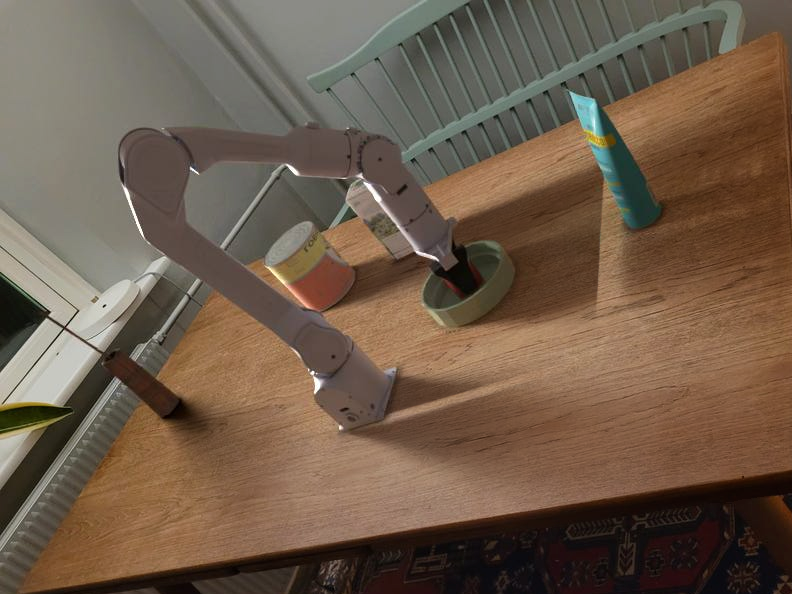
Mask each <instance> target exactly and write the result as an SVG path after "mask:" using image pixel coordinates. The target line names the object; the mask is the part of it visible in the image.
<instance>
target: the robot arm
mask: <svg viewBox="0 0 792 594" xmlns="http://www.w3.org/2000/svg"><path fill="white" fill-rule="evenodd" d="M304 124H305V125H296V126H294V127H293V128H292V129H291V130H290V131H289V132H288V133H287V134H285V135H274V134H267V133H257V132H250V131H241V130H233V129H224V128H216V127H208V126H166V127H161V129H162V130H164V131H166V132H167V133H168V134H169V135H167V134H165V133H164V132H163V131H160V130H158V129H156V128H154V127H143V126H140V127H136V128H134V129H131V130H129V131H128V132H126V133H125V134H124V135H123V136H122V138H121V139H120V141H119V143H118V147H117V175H118V180H119V181H120V184H121V186H122V189H123V191H124V193H125V196H126V199H127V201H128V204H129V206H130V208H131V211H132V215H133V216H134V219H135V221H136V225H137V227H138V229H139V233H140V234H141V235H142V237H143V240H144V241H146V242H147V243H148V244H149V245H150V246H151V247H152V248H153V249H155V250H156V251H158V252H159V253H161V254H163V255H164V256H165V257H166V258H168V259H170V260H171V261H172V262H174V263H175V264H176V265H178V266H179V267H181V268H182V269H183V270H185V271H187V272H188V273H189V274H191V275H192V276H193V277H195V278H196V279H198V280H199V281H201V282H202V283H204V284H205V285H206V286H207V287H209V288H210V289H212V290H213V291H215V292H216V293H218V294H219V295H220V296H222V297H223V298H224V299H226V300H227V301H229V302H230V303H232V305H234V306H236V307H238V308H239V309H240V310H241V311H243V312H244V313H245V314H247V315H249V316H250V317H251V318H253V319H254V320H256V321H257V322H259V323H260V324H261V325H263V326H264V327H266V328H267V329H268V330H269V331H271V332H272V333H273V334H274V335H276V336H277V337H278V338H279V339H280V340H282V341H283V342H284V343H285V344H286V345H287V347H289V348H290V349H291V350H292V351H293V352H294V353H295V354H296V355H297V356H298V358H299V359H300V360H301V361H302V364H303V365H304V366H305V368H307V370H308V372H309V374H310V375H311V376H312V377H313V380H314V385H315V387H314V395H313V396H314V397H313V398H314V401H315V404H317V406H318V407H319V408H320V409H321V410H322V411H324V412H325V413H326V414H327V415H328V416H329V417H330V418H331V419H333V420H334V422H336V423H337V424H338V425H339V431H341V432H344V431H345V432H346V431H348V430H351V429H355V428H358V427H362V426H365V425H369V424H372V423H376V422H379V421H382V420H384V419H385V417H386V414H385V411H386V408H387V405H388V402H389V398H390V395H391V391H392V388H393V384H394V381H395V379H396V375H397V371H398V367H397V366H394V367H390V368H387V369H384V370H383V369H382V368H381V367H379V365H378V364H377V363H376V362H374V360H373V359H372V358H371V357H370V356H369V355H368V354H367V353H366V352H365V351H364V350H363V348H361V347H360V346H359V345H358V344H357V342H355V340H353V338H351V337H350V335H348V334H344V333H343V332H342V331H341V330H339V329H338V328H336V327H335V326H334V325H332V324H331V323H330V322H329V321H328V320H327V318H325V316H324V315H323V314H322V313H321V312H318V311H316V310H314V309H309V308H307V307H305V306H301V305H299V304H297V303H296V302H295V301H293V300H292V299H290V298H289V297H287V296H285V295H284V294H283V293H282V292H280V291H279V290H278V289H277V288H275V287H274V286H272V284H270V283H268V282H267V281H266V280H264V279H263V278H262V277H261V276H260V275H258V274H257V273H255V272H254V271H253V270H251V269H250V268H249V267H247V266H246V265H244V264H243V263H242V262H241V261H239V260H238V259H237V258H235V257H234V256H233V255H232V254H230V253H229V252H228V251H226V250H225V249H224V248H223V247H221V246H220V245H218V244H217V243H216V242H214V240H212V239H211V238H209V237H208V236H206V235H205V234H204V233H202V232H201V231H200V230H199V229H197V228H196V227H195V226H193V225H192V224H190V223H189V221H187V213H186V201H185V194H186V191H187V187H188V184H189V180H190V175H191V170H192V171H193V172H195V173H196V174H198V175H201V174H202V173H204V172H206V171H207V170H209V169H210V168H212V167H213V166H214V165H216V164H217V163H223V162H224V163H252V164H276V165H277V164H281V165H285V166H287V167H288V168H289V170H290V171H291V172H292V173H293V174H294V175H295V176H297V177H307V178H324V179H342V180H347V179H350V178H355V179H360V178H362V179H365V180H364V181H363V183H364V184H365V185H366V186H367V188H368V189H369V190H370V191H371V193H372V194H373V195H374V197H375V199H376V201H377V202H378V203H379V204H380V206H381V207H382V208H383V209H384V211H385V212H386V213H387V214H388V216H389V217H390V218H391V219H392V221H393V222H394V223H395V224H396V226H397V227H398V228H399V229H400V231H401V232H402V233H403V235H404V236H405V237H406V238H407V240H408V241H409V242H410V243H411V245H412V246H413V249H414V253H416V255H418V256H421V257H424V258H427V259H431V260H433V262H431V263H430V264H429V265H428V266H427V267H428V269H429V271H430V273H431V272H432V273H433V274H434V275H436V276H438V277H441V278H443V279H445V280H447V281H449V282H450V283H452V284H453V285H454V286H455V287H457V288H458V289H459V290H460V291H461V292H463V293H464V294H466V295H469V294H470V293H471V292H473V291H474V290H475V289H477V288H478V284H477V281H476V279H475V277H474V275H473V273H472V271H471V269H470V266H469V263H468V259H467V251H466V248H465V247H464V246H465V245H464V244H463V243H461V244H459V245H458V246H457V245H456V242H455V238H454V234H453V231H454V230H453V229H454V228H456V227H457V226H458V225H459V221H457V219H456V218H455V216H450V217H449V218H445V217H444V216H443V215H442V213H441V212H440V211H439V208H437V206H436V205H435V204H434V203H433V201H432V200H431V199H430V197H429V196H428V194H427V193H426V192H425V191H424V188H423V187H422V186H421V185H420V184H419V182H418V181H417V179H416V178H415V176H414V175H413V174H412V173H411V171H409V169H408V168H407V167H406V166H405V164H404V163H403V155H402V151H401V148H400V146H399V144H398V143H397V142H394V141H393V140H392V139H390V138H389V137H388V136H387V135H383V134H381V133H380V134H379V133H374V132H369V131H363V130H361V129H358V128H357V127H354V126H346V128H345V129H336V128H335V129H334V128H325V127H320V123H319V122H315V121H305V123H304Z"/></svg>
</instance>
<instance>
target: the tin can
mask: <svg viewBox="0 0 792 594" xmlns="http://www.w3.org/2000/svg"><path fill="white" fill-rule="evenodd" d="M467 259H468V263H469V266H470V269H471V271H472V273H473V275H474V277H475V279H476V281H477V284H478V288H477V289H475V290H474V291H473V292H471V293H470V294H469V295H466V294H464V293H463V292H461V291H460V290H459V289H458V288H457V287H455V286H454V285H453V284H452V283H450V282H449V281H447V280H445V279H444V280H445V281H446V283H447V284H448V285H449V286H450V288H451V289H452V290H453V292H454V293H455V294H456V295H457V296H458V298H459V299H460V300H461V301H462V302H463V301H465V300H466V299H468V298H470V297H471V296H473V295H474V294H475V293H476V292H478V291H479V290H480V289H481V288H482V287H483V286H484V285H485V284H486V281H485V280H484V278H483V277H482V275H481V274H480V272H479V271H478V270H477V268H476V267H475V266H474V264H473V263H472V262H471V260H470V259H469V258H468V257H467Z"/></svg>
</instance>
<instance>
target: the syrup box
mask: <svg viewBox="0 0 792 594" xmlns="http://www.w3.org/2000/svg"><path fill="white" fill-rule="evenodd" d="M364 180H365V179H362V178H358V179H357V180H355V181H353V182H351V184H350V186H349V188H348V190H347V192H346V197H345V202H346V203H347V205H348V206H349V207H350V208H351V210H352V211H353V212H354V213H355V214H356V215H357V217H358V218H359V219H360V220H361V221H362V223H363V224H364V225H365V226H366V227H367V228H368V230H369V231H370V233H372V234H373V236H374V237H375V238H376V239H377V240H378V242H379V243H380V244H381V245H382V246H383V248H384V249H385V250H386V251H387V252H388V254H389V255H390V256H391V257H392V258H393V260H395V261H397V260H399V259H401V258H404V257H406V256H408V255H410V254H412V253H415V251H414V249H413V246H412V245H411V243H410V242H409V241H408V240H407V238H406V237H405V236H404V235H403V233H402V232H401V231H400V229H399V228H398V227H397V226H396V224H395V223H394V222H393V221H392V219H391V218H390V217H389V216H388V214H387V213H386V212H385V211H384V209H383V208H382V207H381V206H380V204H379V203H378V202H377V201H376V199H375V197H374V195H373V194H372V193H371V191H370V190H369V189H368V188H367V186H366V185H365V184H364V183H363V181H364Z"/></svg>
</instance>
